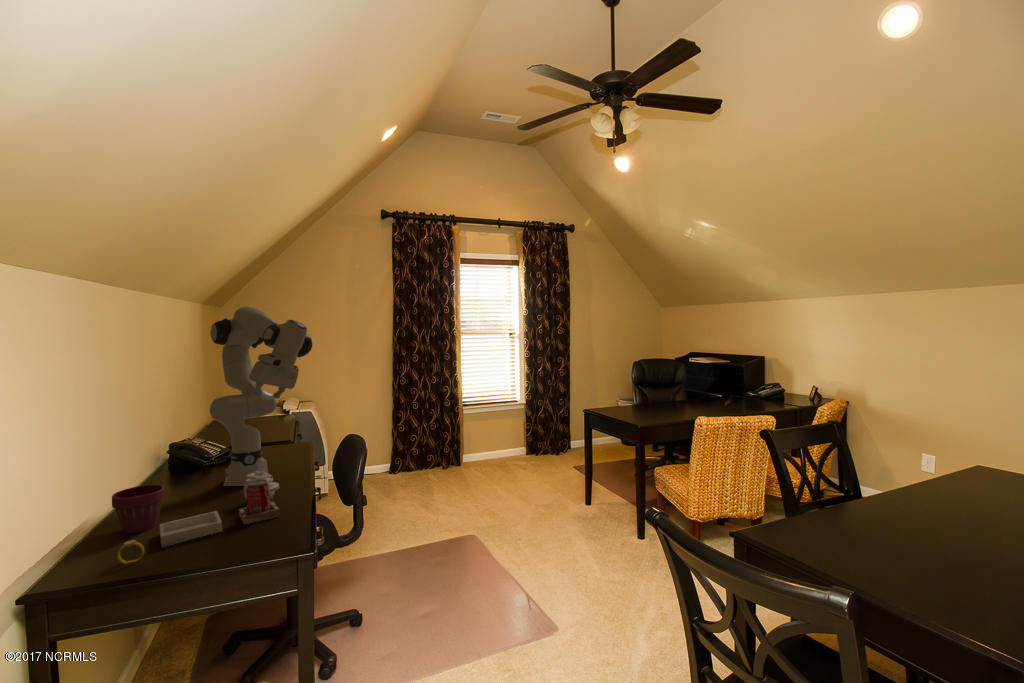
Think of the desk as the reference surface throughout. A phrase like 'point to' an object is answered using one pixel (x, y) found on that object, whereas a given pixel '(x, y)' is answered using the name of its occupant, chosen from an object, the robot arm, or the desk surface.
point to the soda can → (258, 497)
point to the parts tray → (189, 528)
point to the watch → (126, 544)
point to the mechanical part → (261, 476)
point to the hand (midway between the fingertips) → (266, 396)
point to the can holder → (259, 514)
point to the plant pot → (138, 507)
